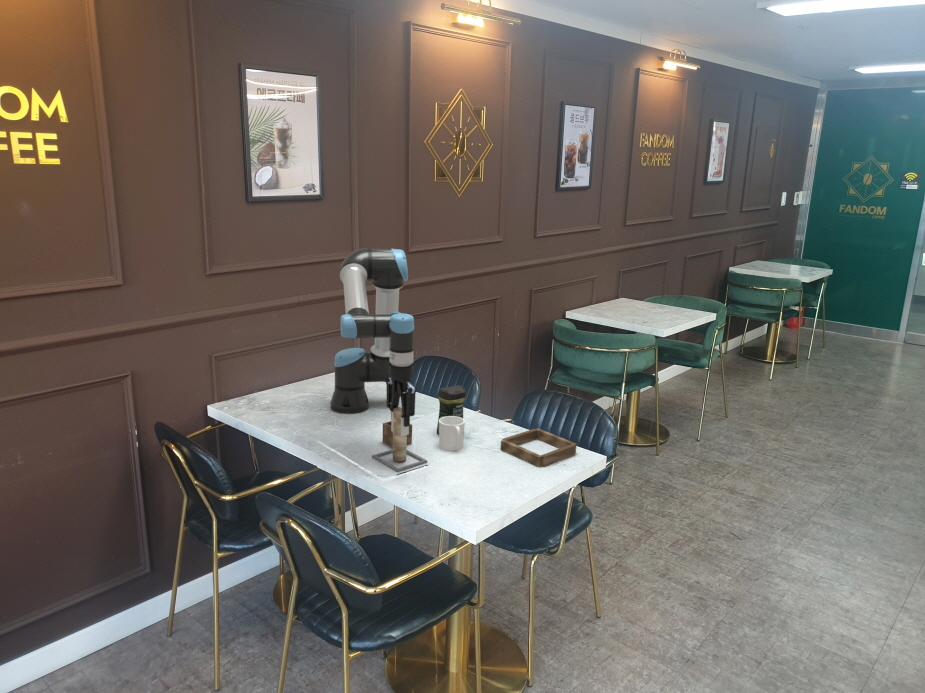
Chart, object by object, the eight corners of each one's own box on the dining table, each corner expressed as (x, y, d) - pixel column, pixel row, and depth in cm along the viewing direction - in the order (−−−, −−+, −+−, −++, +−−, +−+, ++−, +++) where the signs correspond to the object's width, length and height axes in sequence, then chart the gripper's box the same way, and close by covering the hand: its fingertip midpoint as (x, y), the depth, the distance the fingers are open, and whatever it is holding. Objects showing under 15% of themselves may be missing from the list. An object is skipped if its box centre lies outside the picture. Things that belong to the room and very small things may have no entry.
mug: (434, 445, 246) (434, 417, 243) (457, 442, 249) (458, 414, 247) (445, 457, 236) (446, 428, 233) (470, 454, 239) (471, 425, 237)
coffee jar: (446, 442, 249) (448, 392, 244) (433, 435, 255) (434, 386, 250) (467, 436, 255) (469, 387, 250) (454, 429, 261) (455, 381, 256)
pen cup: (382, 444, 244) (382, 423, 242) (399, 440, 249) (399, 418, 247) (394, 451, 239) (395, 429, 237) (411, 446, 244) (412, 424, 242)
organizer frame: (498, 449, 245) (499, 439, 244) (536, 436, 257) (536, 427, 256) (540, 468, 231) (540, 458, 230) (577, 453, 243) (578, 444, 243)
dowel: (389, 458, 230) (390, 409, 226) (400, 455, 233) (401, 406, 229) (398, 462, 227) (398, 413, 223) (408, 459, 230) (410, 410, 225)
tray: (371, 460, 231) (371, 455, 231) (401, 451, 239) (401, 446, 239) (397, 475, 221) (397, 470, 221) (427, 465, 229) (427, 460, 229)
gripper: (375, 358, 225) (374, 427, 231) (408, 371, 213) (407, 443, 219) (394, 355, 230) (393, 422, 236) (427, 367, 218) (425, 438, 224)
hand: (399, 432), depth 228 cm, fingers closed on dowel, 4 cm apart
